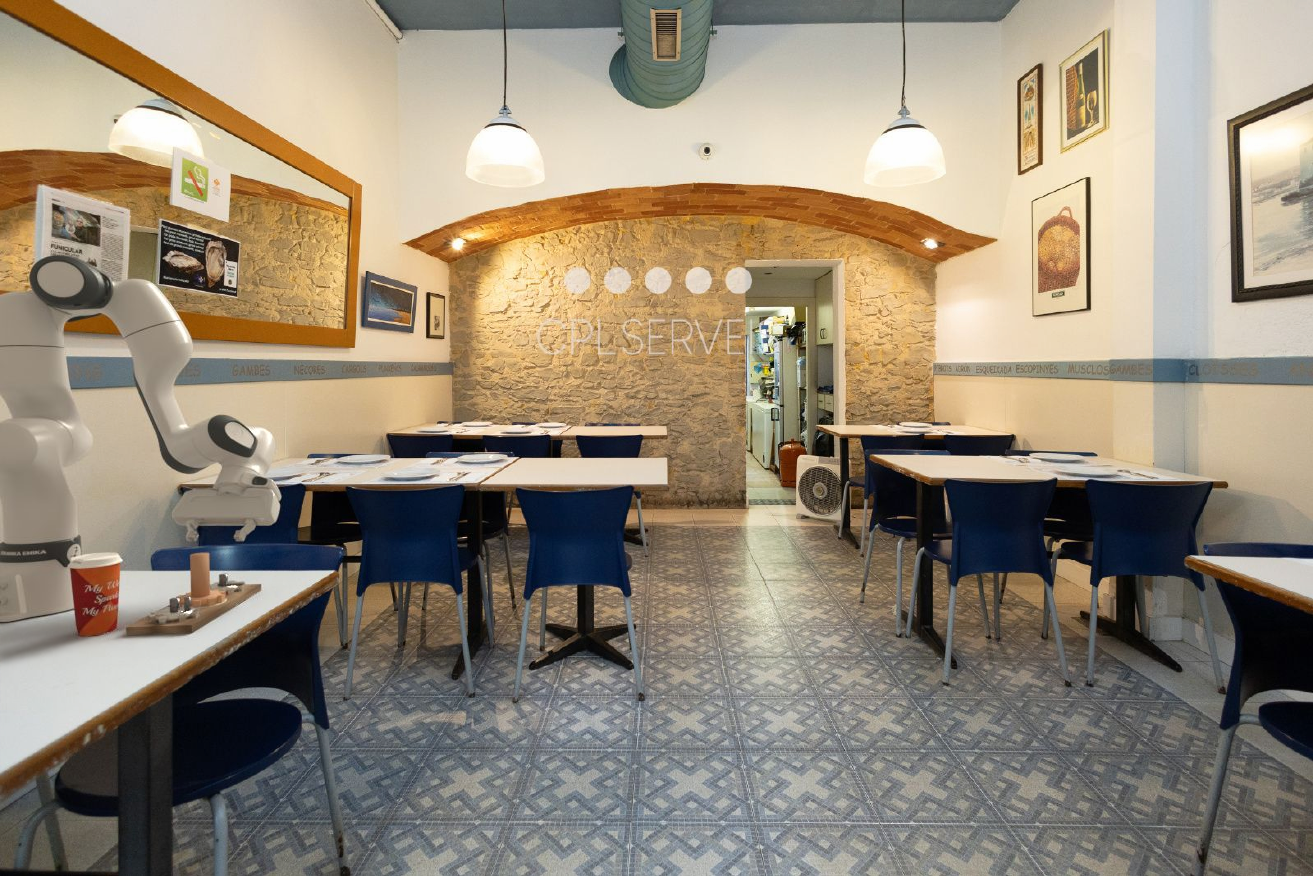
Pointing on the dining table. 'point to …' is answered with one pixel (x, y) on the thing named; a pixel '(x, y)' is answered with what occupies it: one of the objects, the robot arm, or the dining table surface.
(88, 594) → the paper cup
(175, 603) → the gear
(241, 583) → the gear
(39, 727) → the dining table surface
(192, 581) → the idler gear
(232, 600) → the gear board
